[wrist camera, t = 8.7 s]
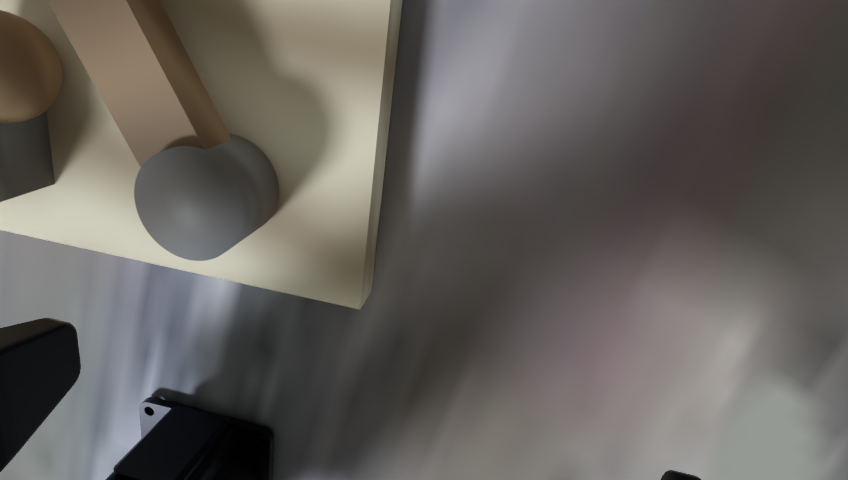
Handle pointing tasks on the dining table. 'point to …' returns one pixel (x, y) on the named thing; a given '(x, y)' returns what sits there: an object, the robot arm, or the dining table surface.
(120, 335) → the dining table surface
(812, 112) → the dining table surface
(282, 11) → the nutcracker base
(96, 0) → the lever
